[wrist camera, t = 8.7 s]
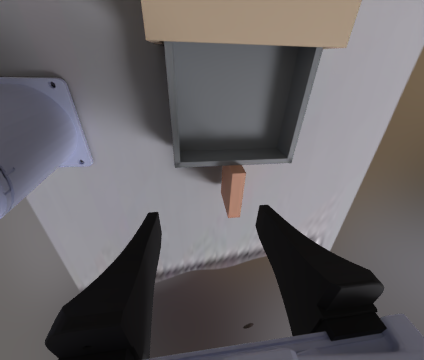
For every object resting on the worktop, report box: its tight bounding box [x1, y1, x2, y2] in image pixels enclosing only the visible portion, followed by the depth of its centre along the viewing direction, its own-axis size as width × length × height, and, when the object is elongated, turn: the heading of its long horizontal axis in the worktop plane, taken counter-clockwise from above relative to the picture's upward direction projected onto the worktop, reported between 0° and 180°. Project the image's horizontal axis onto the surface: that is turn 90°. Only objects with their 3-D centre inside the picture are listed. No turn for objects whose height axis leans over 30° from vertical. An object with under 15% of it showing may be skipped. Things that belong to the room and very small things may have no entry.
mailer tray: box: [164, 41, 323, 218], centre depth 16 cm, size 20×11×4 cm, turn 178°
